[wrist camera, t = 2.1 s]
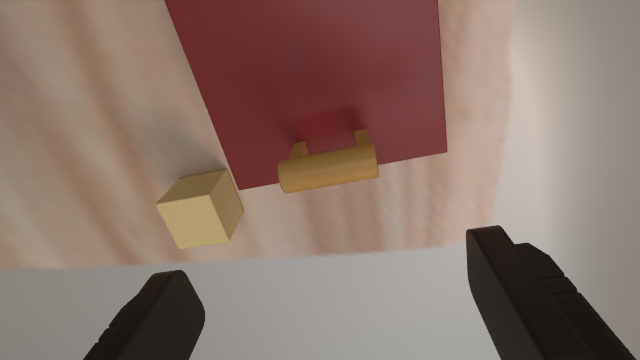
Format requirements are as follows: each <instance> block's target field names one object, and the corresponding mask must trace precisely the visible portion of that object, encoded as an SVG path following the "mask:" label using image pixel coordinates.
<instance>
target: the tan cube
mask: <svg viewBox="0 0 640 360" xmlns="http://www.w3.org/2000/svg"><path fill="white" fill-rule="evenodd" d="M155 205H156V207H157V209H158V211H159V213H160V214H161V216H162V218H163V220H164V222H165V224H166V226H167V228H168V229H169V231H170V233H171V235H172V237H173V239H174V241H175V242H176V244H177V246H178V248H179V249H185V248H191V247H198V246H204V245H210V244H217V243H223V242H229V241H230V239H231V237H232V234H233V232H234V230H235V228H236V226H237V224H238V222H239V220H240V218H241V216H242V214H243V212H244V211H243V208H242V206H241V203H240V201H239V198H238V196H237V193H236V191H235V188H234V186H233V183H232V181H231V178H230V176H229V173H228V171H227V169H224V170H219V171H214V172H209V173H204V174H199V175H194V176H189V177H183V178H180V179H179V180H178V181H177V182H176V183H175V184H174V185H173V186H172V187H171V188H170V189H169V191H168V192H167V193H166V194H165V195H164V196H163V197H162V198H161V199H160V200H159V201H158V202H157V203H156V204H155Z"/></svg>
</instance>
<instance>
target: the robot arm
mask: <svg viewBox="0 0 640 360" xmlns="http://www.w3.org/2000/svg"><path fill="white" fill-rule="evenodd" d="M466 248H467V270H468V280H469V285H470V289H471V292H472V295H473V298H474V300H475V302H476V305H477V307H478V309H479V311H480V314H481V316H482V318H483V320H484V323H485V325H486V327H487V329H488V332H489V334H490V336H491V338H492V340H493V343H494V345H495V347H496V349H497V352H498V354H499V356H500V358H501V360H636V359H635V357H634V356H633V355H632V354H631V353H630V352H629V350H628V349H627V348H626V347H625V346H624V345H623V343H622V342H621V341H620V340H619V339H618V337H617V336H616V335H615V334H614V333H613V331H612V330H611V329H610V328H609V327H608V325H607V324H606V323H605V322H604V321H603V319H602V318H601V317H600V316H599V315H598V313H597V312H596V311H595V310H594V309H593V307H592V306H591V305H590V304H589V303H588V302H587V300H586V299H585V298H584V297H583V295H582V294H581V293H578V292H577V288H576V287H575V286H574V285H573V284H572V282H571V281H570V280H569V279H568V278H567V277H565V276H564V273H563V272H562V270H561V269H560V268H559V267H558V266H557V264H556V263H555V262H554V261H553V260H552V258H551V257H550V256H549V255H547V254H545V253H544V252H542V251H541V250H539V249H537V248H536V247H534V246H533V245H531V244H529V243H521V244H514V243H513V242H512V241H511V239H510V238H509V237H508V235H507V234H506V232H505V231H504V230H503V229H502V227H501V226H499V225H497V226H489V227H482V228H475V229H468V230H467V232H466ZM204 322H205V311H204V307H203V305H202V303H201V301H200V299H199V297H198V295H197V293H196V292H195V290H194V288H193V286H192V284H191V283H190V281H189V279H188V277H187V275H186V274H185V272H183V271H182V270H175V271H168V272H161V273H155V274H153V275H152V276H151V277H150V278H149V280H148V281H147V282H146V284H145V285H144V286H143V288H142V289H141V290H140V292H139V293H138V294H137V295H136V296H135V297H134V298H133V299H132V300H130V301H129V302H128V303H127V304H126V305H125V306H124V307H123V308H122V309H121V310H120V311H119V312H118V314H117V315H116V317H115V318H114V319H113V321H112V322H111V323H110V325H109V328H108V329H106V330H105V331H104V332H103V334H102V335H101V336H100V338H99V342H98V343H95V344H94V346H93V347H92V348H91V350H90V351H89V352H88V354H87V355H86V356H85V358H84V359H83V360H189V358H190V356H191V354H192V351H193V349H194V347H195V345H196V342H197V340H198V338H199V336H200V334H201V331H202V329H203V326H204Z"/></svg>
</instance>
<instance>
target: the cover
mask: <svg viewBox="0 0 640 360" xmlns="http://www.w3.org/2000/svg"><path fill="white" fill-rule="evenodd" d="M165 3H166V6H167V8H168V11H169V13H170V16H171V19H172V21H173V24H174V26H175V29H176V31H177V34H178V36H179V39H180V41H181V44H182V47H183V49H184V52H185V54H186V57H187V59H188V62H189V64H190V67H191V69H192V72H193V75H194V77H195V80H196V82H197V85H198V87H199V90H200V92H201V95H202V97H203V100H204V103H205V105H206V108H207V110H208V113H209V115H210V118H211V120H212V123H213V125H214V128H215V131H216V133H217V136H218V138H219V141H220V143H221V146H222V148H223V151H224V154H225V156H226V159H227V161H228V164H229V166H230V169H231V171H232V174H233V176H234V179H235V182H236V184H237V187H238V189H239V190H243V189H248V188H254V187H259V186H265V185H270V184H276V183H280V186H281V188H282V190H283V192H284V193H292V192H298V191H303V190H309V189H315V188H320V187H326V186H331V185H337V184H343V183H348V182H354V181H360V180H365V179H371V178H377V177H379V171H378V165H379V164H385V163H390V162H396V161H401V160H407V159H412V158H418V157H423V156H429V155H434V154H439V153H445V152H447V137H446V121H445V106H444V90H443V75H442V59H441V43H440V28H439V12H438V0H165Z"/></svg>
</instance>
